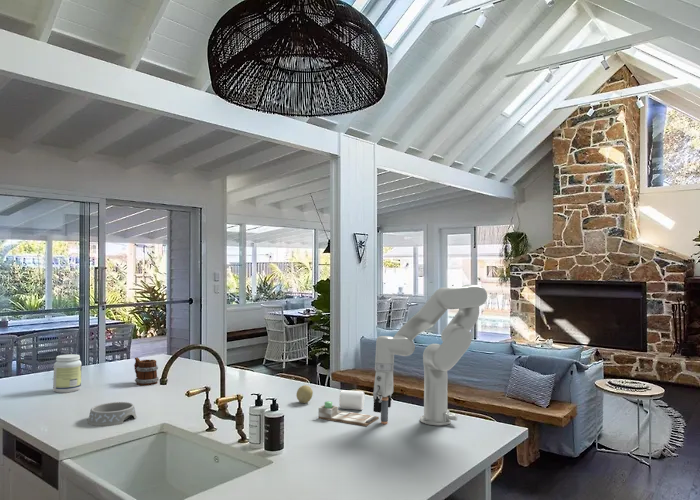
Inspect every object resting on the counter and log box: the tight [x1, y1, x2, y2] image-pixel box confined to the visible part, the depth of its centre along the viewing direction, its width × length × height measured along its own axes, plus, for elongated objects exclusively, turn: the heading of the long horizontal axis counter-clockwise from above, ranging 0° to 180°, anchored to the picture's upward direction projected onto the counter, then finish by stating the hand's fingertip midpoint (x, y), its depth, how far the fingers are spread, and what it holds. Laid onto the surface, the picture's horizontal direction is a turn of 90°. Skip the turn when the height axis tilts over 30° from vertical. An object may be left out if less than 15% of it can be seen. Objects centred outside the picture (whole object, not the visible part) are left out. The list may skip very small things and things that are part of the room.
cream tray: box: [317, 404, 380, 427], centre depth 219 cm, size 22×12×4 cm, turn 63°
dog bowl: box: [87, 401, 138, 427], centre depth 213 cm, size 17×18×5 cm
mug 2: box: [338, 389, 366, 411], centre depth 236 cm, size 12×10×8 cm
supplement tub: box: [52, 353, 83, 394], centre depth 260 cm, size 12×12×17 cm
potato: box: [295, 384, 314, 404], centre depth 243 cm, size 8×8×8 cm
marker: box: [380, 397, 389, 425], centre depth 213 cm, size 3×3×10 cm
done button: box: [324, 400, 333, 409], centre depth 220 cm, size 3×3×3 cm
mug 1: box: [133, 357, 160, 387], centre depth 278 cm, size 12×14×15 cm
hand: (382, 409), depth 213 cm, fingers open, 9 cm apart
